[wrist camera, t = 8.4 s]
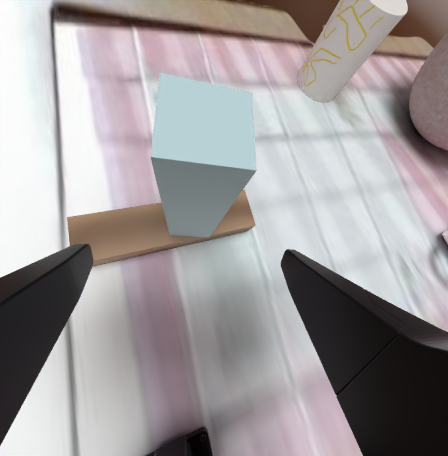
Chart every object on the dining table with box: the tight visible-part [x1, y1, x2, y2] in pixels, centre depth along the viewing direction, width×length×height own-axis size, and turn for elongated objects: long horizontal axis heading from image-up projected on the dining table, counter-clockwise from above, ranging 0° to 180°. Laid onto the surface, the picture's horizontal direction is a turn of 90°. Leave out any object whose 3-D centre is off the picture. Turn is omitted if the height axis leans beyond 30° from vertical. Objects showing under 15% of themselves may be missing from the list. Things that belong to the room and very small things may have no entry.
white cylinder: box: [297, 0, 408, 102], centre depth 29 cm, size 8×8×12 cm
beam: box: [67, 190, 255, 266], centre depth 21 cm, size 4×18×3 cm, turn 105°
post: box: [151, 73, 256, 237], centre depth 14 cm, size 4×4×13 cm
